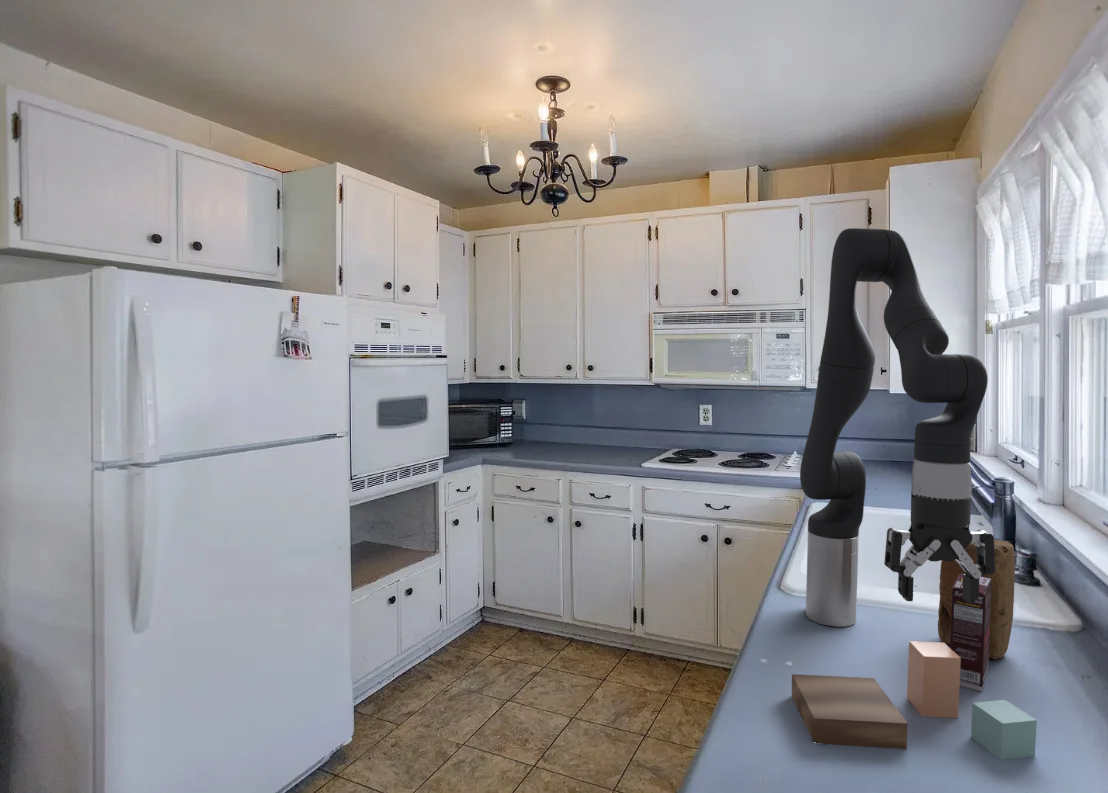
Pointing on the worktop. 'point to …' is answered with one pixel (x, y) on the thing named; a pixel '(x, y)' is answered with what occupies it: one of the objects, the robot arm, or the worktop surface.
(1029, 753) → the teal block
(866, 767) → the worktop surface
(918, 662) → the terracotta block
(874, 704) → the walnut block
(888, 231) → the robot arm
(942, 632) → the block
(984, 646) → the supplement box
